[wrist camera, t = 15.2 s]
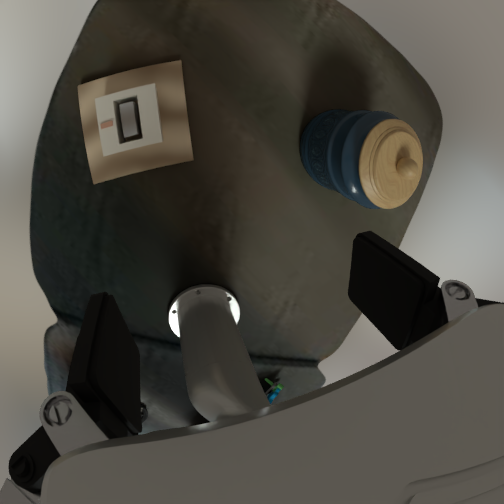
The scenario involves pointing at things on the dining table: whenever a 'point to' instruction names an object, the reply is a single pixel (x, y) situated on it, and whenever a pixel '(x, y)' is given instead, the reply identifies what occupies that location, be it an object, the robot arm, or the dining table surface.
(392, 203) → the canister
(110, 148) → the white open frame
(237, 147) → the dining table surface
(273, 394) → the blue green toy
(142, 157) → the base
